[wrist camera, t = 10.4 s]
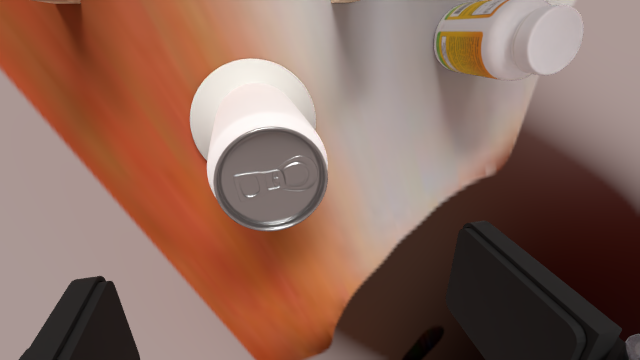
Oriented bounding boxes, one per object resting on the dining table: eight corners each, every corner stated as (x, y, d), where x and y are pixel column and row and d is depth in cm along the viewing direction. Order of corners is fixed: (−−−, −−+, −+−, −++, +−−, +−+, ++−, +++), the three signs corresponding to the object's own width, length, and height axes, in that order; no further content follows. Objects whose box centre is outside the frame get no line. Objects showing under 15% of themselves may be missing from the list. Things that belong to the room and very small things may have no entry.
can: (302, 150, 29) (343, 221, 18) (227, 167, 28) (224, 252, 18) (288, 74, 26) (326, 105, 16) (205, 90, 25) (184, 134, 15)
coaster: (312, 56, 27) (314, 56, 26) (315, 172, 31) (317, 174, 30) (179, 60, 25) (178, 61, 24) (201, 184, 29) (201, 187, 28)
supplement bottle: (468, 80, 31) (559, 99, 22) (421, 57, 29) (501, 68, 20) (499, 19, 29) (611, 15, 20) (451, -9, 27) (552, -27, 19)
